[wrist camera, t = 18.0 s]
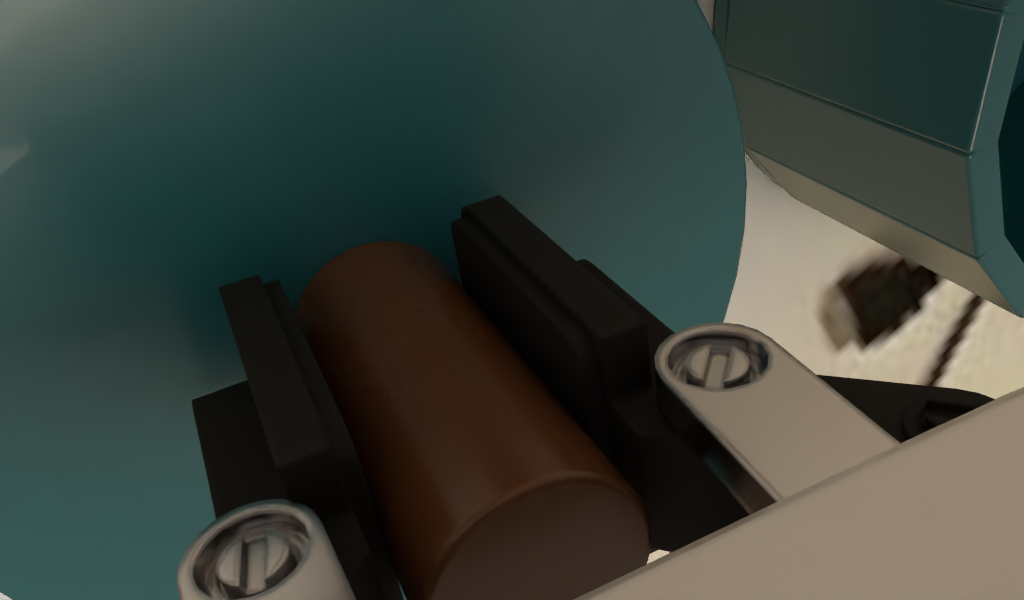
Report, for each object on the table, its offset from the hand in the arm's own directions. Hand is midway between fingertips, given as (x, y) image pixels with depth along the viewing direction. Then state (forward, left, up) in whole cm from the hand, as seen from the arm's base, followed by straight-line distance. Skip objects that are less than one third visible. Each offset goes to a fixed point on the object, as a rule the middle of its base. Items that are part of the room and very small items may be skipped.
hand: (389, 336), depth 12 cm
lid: (0, 0, -1) cm, 1 cm away
